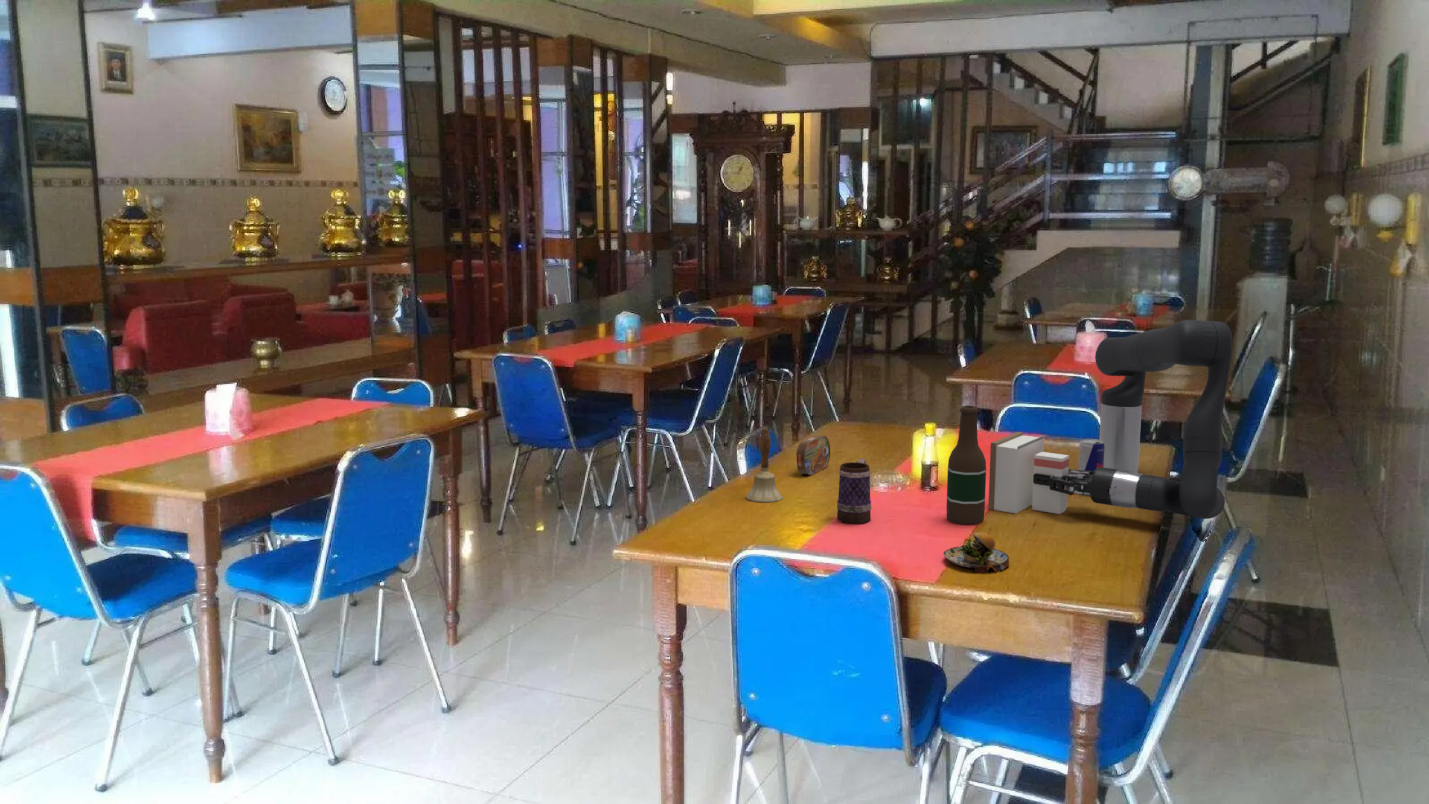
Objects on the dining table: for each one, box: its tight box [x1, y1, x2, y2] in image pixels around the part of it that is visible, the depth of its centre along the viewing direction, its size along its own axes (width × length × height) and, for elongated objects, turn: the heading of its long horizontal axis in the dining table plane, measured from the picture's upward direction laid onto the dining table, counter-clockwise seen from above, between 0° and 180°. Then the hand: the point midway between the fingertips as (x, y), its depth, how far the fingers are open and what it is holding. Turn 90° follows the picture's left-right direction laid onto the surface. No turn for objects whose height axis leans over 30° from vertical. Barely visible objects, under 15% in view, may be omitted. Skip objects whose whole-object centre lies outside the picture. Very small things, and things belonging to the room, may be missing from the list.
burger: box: [943, 525, 1010, 574], centre depth 207 cm, size 12×12×8 cm
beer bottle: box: [946, 405, 987, 526], centre depth 234 cm, size 8×8×24 cm
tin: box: [795, 435, 831, 476], centre depth 279 cm, size 15×3×8 cm, turn 150°
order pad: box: [987, 431, 1045, 514], centre depth 247 cm, size 14×6×15 cm, turn 142°
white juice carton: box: [1031, 451, 1070, 515], centre depth 242 cm, size 4×6×12 cm
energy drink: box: [1077, 438, 1105, 497], centre depth 256 cm, size 5×5×12 cm
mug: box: [836, 457, 872, 525], centre depth 237 cm, size 10×7×12 cm
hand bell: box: [745, 427, 784, 503], centre depth 253 cm, size 8×8×16 cm
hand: (1038, 476), depth 244 cm, fingers closed on white juice carton, 4 cm apart
